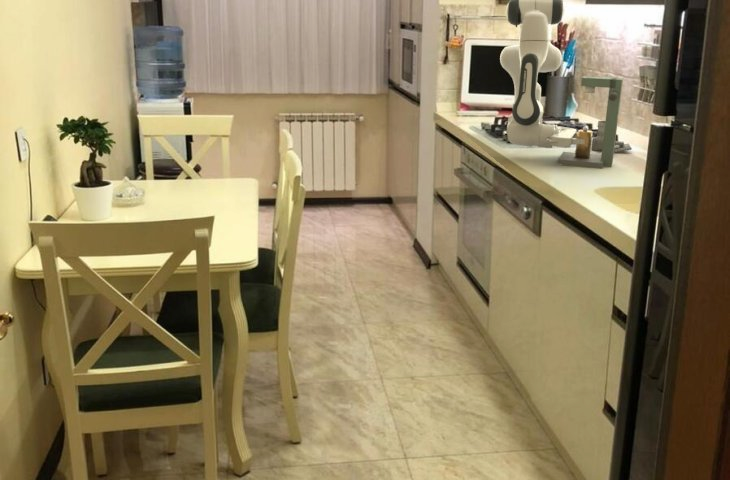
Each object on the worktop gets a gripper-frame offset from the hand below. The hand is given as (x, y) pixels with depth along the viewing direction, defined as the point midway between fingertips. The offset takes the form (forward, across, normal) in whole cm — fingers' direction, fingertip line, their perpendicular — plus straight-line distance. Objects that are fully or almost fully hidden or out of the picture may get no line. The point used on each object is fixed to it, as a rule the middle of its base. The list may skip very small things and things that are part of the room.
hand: (586, 139), depth 282 cm
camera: (+8, +26, +9) cm, 29 cm away
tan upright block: (-1, 0, +7) cm, 7 cm away
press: (+1, -3, +9) cm, 9 cm away
